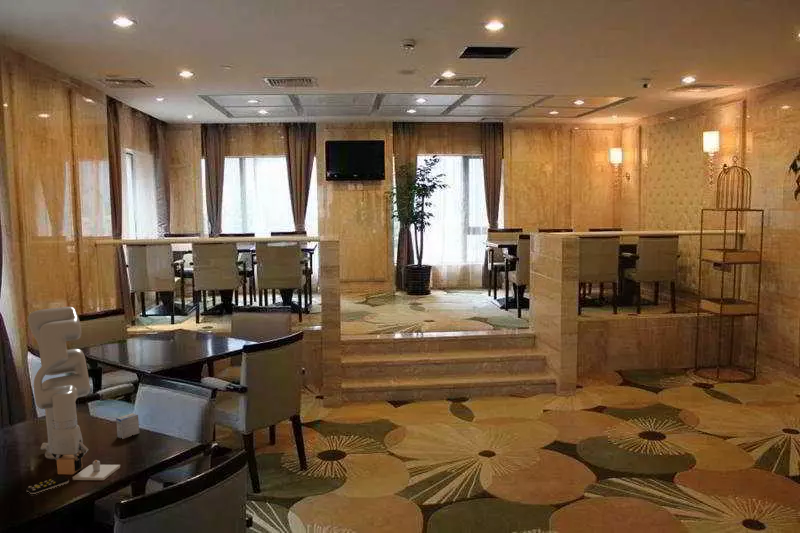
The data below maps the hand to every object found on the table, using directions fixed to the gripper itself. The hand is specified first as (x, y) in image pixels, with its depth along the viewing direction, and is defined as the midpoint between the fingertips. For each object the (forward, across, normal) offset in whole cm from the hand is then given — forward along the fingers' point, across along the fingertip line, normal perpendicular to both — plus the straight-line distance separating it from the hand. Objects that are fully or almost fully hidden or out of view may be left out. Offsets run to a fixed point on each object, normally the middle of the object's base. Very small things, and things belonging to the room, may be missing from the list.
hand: (70, 468), depth 234 cm
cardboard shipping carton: (+1, 0, 0) cm, 1 cm away
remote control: (+1, 0, -13) cm, 13 cm away
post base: (+1, +12, -2) cm, 12 cm away
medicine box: (+1, +3, +36) cm, 36 cm away
